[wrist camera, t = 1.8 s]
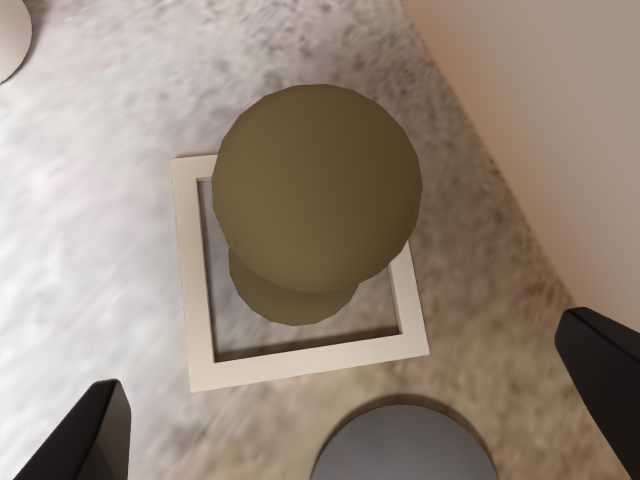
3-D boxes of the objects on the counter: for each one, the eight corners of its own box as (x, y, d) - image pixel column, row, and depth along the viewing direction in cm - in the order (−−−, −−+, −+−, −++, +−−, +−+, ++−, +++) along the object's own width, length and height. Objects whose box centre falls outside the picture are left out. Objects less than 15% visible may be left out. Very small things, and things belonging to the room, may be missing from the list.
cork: (199, 266, 20) (119, 177, 10) (287, 167, 22) (303, -8, 11) (307, 355, 20) (350, 366, 9) (390, 248, 21) (510, 150, 11)
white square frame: (426, 354, 20) (429, 354, 20) (192, 391, 19) (190, 393, 19) (385, 142, 22) (388, 138, 22) (172, 163, 21) (170, 159, 21)
